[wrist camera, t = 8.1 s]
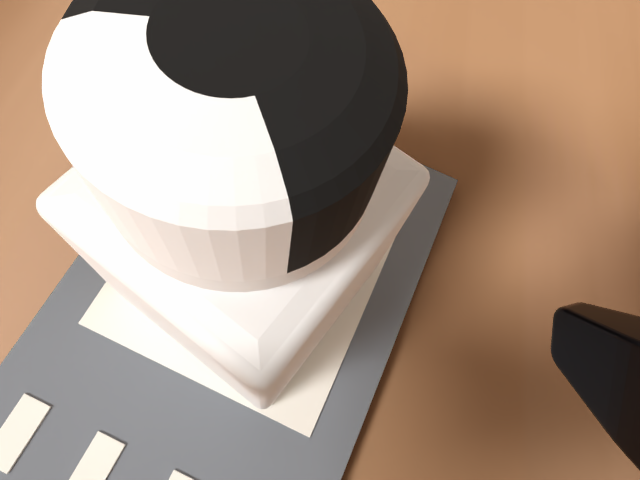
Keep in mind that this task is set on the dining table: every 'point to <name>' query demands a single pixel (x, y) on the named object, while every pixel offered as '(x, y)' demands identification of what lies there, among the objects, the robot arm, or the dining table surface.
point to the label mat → (196, 384)
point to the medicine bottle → (231, 167)
